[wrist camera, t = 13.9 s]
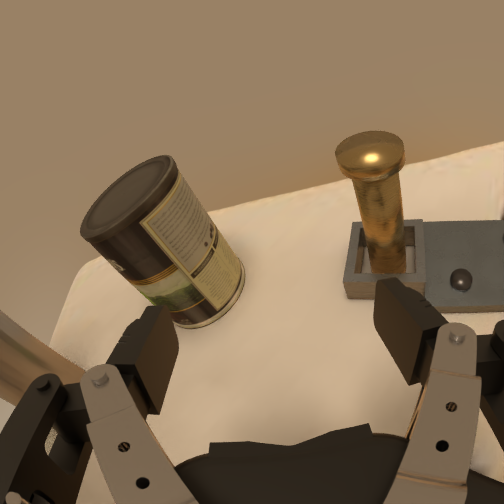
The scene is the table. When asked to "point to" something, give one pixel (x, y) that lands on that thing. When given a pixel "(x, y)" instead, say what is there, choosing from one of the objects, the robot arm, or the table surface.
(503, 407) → the robot arm
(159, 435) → the table surface
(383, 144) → the hinge pin
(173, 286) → the coffee can
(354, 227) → the grey tray fixture
